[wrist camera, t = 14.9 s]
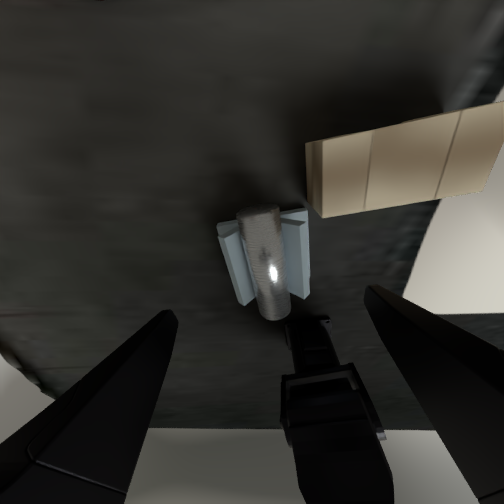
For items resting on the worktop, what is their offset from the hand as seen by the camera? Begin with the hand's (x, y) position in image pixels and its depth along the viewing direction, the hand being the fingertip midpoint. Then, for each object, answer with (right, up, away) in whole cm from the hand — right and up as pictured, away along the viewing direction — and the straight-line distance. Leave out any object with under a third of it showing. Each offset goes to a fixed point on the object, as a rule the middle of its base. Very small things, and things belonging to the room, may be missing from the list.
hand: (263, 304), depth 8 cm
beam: (+10, +10, +7) cm, 16 cm away
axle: (+1, +1, +9) cm, 9 cm away
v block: (+1, +3, +12) cm, 12 cm away
